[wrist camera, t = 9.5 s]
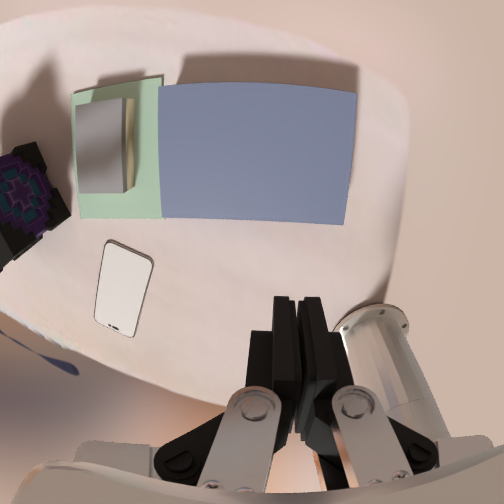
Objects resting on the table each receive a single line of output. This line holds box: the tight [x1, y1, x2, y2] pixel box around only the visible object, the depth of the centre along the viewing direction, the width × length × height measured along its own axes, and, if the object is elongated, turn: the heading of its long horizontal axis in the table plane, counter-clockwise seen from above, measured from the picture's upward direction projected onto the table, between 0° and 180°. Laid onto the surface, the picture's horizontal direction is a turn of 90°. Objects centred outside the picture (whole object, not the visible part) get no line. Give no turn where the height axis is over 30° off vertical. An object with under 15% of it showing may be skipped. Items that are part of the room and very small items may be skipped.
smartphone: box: [94, 241, 154, 337], centre depth 37 cm, size 7×1×15 cm
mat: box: [71, 77, 165, 219], centre depth 28 cm, size 16×12×1 cm
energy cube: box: [0, 142, 71, 273], centre depth 25 cm, size 12×12×12 cm
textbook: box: [158, 82, 357, 225], centre depth 26 cm, size 13×18×4 cm
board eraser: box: [75, 98, 135, 194], centre depth 26 cm, size 10×6×3 cm, turn 176°
